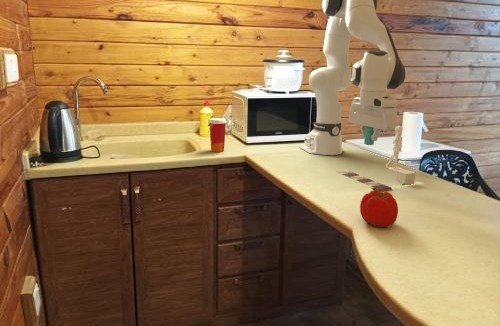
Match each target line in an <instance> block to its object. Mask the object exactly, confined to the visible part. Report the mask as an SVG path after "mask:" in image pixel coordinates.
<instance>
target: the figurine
mask: <svg viewBox="0 0 500 326" xmlns="http://www.w3.org/2000/svg"><path fill="white" fill-rule="evenodd" d="M394 130H395V135H394V139H393V142H392V144H393V148H392V150H393V152H392V153H393V154H392V155H391V156H390V158H389V160H388V163H385V166H386V167H385V168H386V169H389V170H391V171H394V172H397V171H400V170H405V169H404V168H402V167H399V166H397V165H398V157H399V155H400V153H401V152H402V151H403V150H402V149H403V148H402V145H403V137H402V133H403V130H404V128H403V126H402V125H396V127H395V129H394ZM392 160H394V167H393V166H390V167H389V165H390V164H391V162H392Z"/></svg>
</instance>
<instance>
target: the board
mask: <svg viewBox="0 0 500 326" xmlns="http://www.w3.org/2000/svg"><path fill="white" fill-rule="evenodd" d="M335 173H337V174H340V175H342V176H345V177H348V178H349V179H352V180H355V181H357V182H358V183H362V184H365V185H366V186H369V187H371V191H373V190H378V191H381V192H388V191H392V190H393V188H392V187H391V186H388V185H386V184H383V183H381V182H379V181H376V180H374V179H371V178H368V177H365V176H363V175H360V174H358V173H356V172H352V171H350V170H347V169H346V170H337V171H335Z"/></svg>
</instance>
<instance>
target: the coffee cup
mask: <svg viewBox="0 0 500 326" xmlns="http://www.w3.org/2000/svg"><path fill="white" fill-rule="evenodd" d="M226 123H227V120H226V118H222V117H221V118H220V117H213V118H209V121H208V124H209V140H210V151H211V152H212V153H222V152H224V151H225V141H226V140H225V139H226V125H227V124H226Z"/></svg>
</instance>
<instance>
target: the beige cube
mask: <svg viewBox="0 0 500 326" xmlns="http://www.w3.org/2000/svg"><path fill="white" fill-rule="evenodd" d="M395 176H396V177H395V181H397V182H400V183H401V184H402V186H404V185H407V186H412V185H411V184H413V185H414V184H415V179H416V172H414V171H411V170H408V169H404V170H400V171H396V175H395Z"/></svg>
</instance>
